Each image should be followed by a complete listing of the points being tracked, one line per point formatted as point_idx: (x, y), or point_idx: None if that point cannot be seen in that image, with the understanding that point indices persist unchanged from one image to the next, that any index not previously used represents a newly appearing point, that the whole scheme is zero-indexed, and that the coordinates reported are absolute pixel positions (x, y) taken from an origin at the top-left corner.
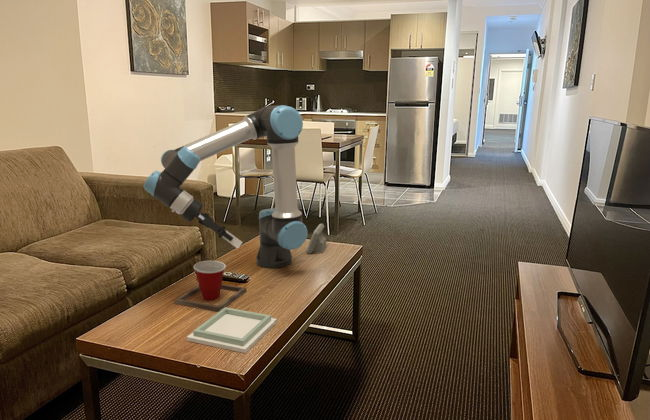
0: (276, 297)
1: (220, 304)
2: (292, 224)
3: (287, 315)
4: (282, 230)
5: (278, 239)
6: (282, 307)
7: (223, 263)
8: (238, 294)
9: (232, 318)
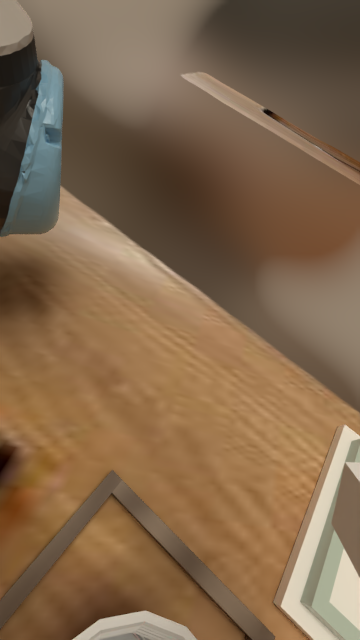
0: (193, 384)
1: (246, 625)
2: (62, 93)
3: (302, 391)
4: (40, 155)
5: (17, 214)
6: (259, 388)
7: (87, 634)
8: (156, 516)
9: (350, 571)
